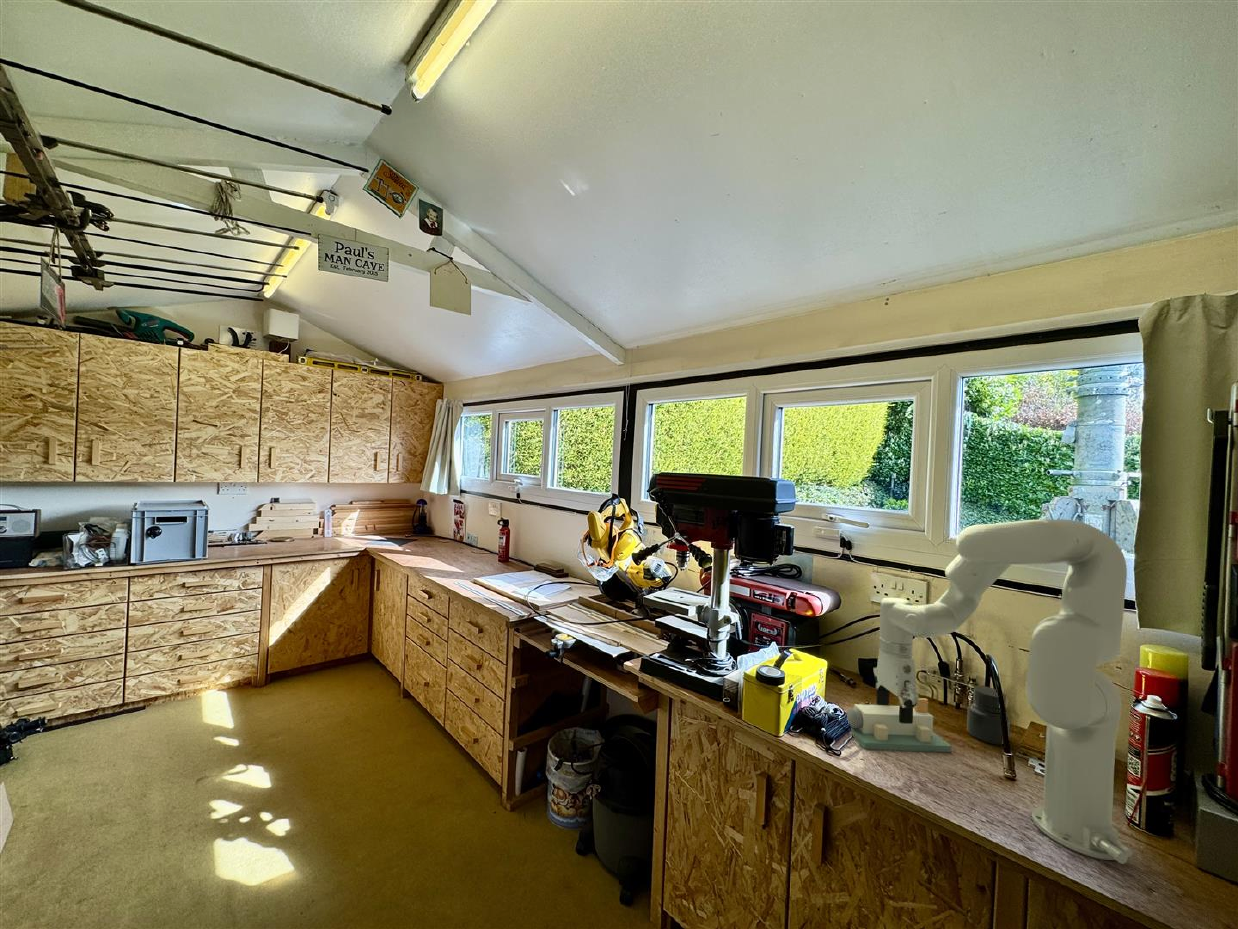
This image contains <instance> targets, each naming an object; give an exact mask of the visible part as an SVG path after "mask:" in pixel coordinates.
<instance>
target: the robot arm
mask: <svg viewBox="0 0 1238 929" xmlns="http://www.w3.org/2000/svg"><path fill="white" fill-rule="evenodd" d="M955 546H956V550H957V552H958V554H957V556H955V558H954V559H953V560H952V561H950V563H949V564H948V565H947V566H946V567H945V570H944V574H945V577H946V579H947V580H948V581H949V586H948V588H947V589H946V590H945V592H944V593H943V594H942V595H941V596H940V597H939V598H938V599H937V600H936V601H935V602H934V603H929V604H928V603H927V604H919V605H913V603H912V602H911V601H910V600H907V599H905V598H900V597H883V598H882V599H881V600H880V605H879V606H880V607H879V608H880V609H879V610H880V612H879V613H880V615H879V639H878V640H879V641H878V642H879V644H878V646H879V647H878V654H877V662H876V664H877V665H876V667H873V674H874V681H875V688H876V699H875V700H876V702H875V703H876V704H875V705H886V706H890V693H892V694H893V695H894V696H896V697H898V700H899V703H900V705H898V706H899V722H900V723H905V724H912V723H913V708H915V706H916V705H917V701H918V699H919V698H920V696H919V694H918V692H917V676H916V674H917V673H916V666H915V659H914V657H913V644H914V643H913V642H914V641H913V639H914V637H915V638H920V639H926V638H933V637H938V636H944V635H949V634H952V633H954V632H955V631H957V630H958V629H959V628H960V627H961V626H963V624H964V623H966V621H967V620H968V619H969V618H970V617H971V616H973V614H974V612H976V610H977V609H978V606H979V604H980V603H981V600H982V596H983V594H984V593H985V592H986V591H987V590H988V589H989V588H990V587H991V586H992V585H993V584H994V583H995V582H996V581H997V580H998V579H999V578H1000V577H1001V576H1002V574H1004V573H1005V572H1006V571H1007V570H1008V569H1009V568H1010V567H1011V566H1012V565H1041V564H1042V565H1043V564H1045V565H1046V564H1048V565H1049V564H1059V563H1060V564H1063V563H1064V564H1066V565H1067V573H1066V576H1065V579H1064V581H1063V584H1062V589H1061V593H1062V594H1061V599H1060V606H1059V607H1060V608H1059V611H1058V614H1055V615H1051V616H1047V617H1045V618H1044V619H1042V620H1040V621H1039V622H1038V623H1037V624H1036V626H1035V628H1034V629H1033V632H1032V634H1031V638H1030V645H1029V652H1028V661H1027V670H1026V678H1025V693H1026V698H1027V702H1028V704H1029V705H1030V707H1031V709H1032V710H1033V712H1034V713H1035V714H1036V715H1037V717H1039V719H1040V720H1042V721H1043V722H1045V723H1047V724H1046V733H1045V734H1046V735H1045V749H1044V750H1045V752H1044V753H1045V754H1044V773H1043V774H1044V778H1043V779H1044V780H1043V799H1042V801H1043V802H1042V804H1043V805H1040V806H1037V807H1035V808H1034V807H1033V810H1032V811H1031V812H1032V814H1031V818H1032V821H1033V823H1034V824H1035V825H1036V827H1037V828H1038V829H1039V830H1040V831H1041V832H1042V833H1043V834H1045V835H1046V836H1047V837H1048V838H1050V839H1052V840H1053V841H1055V842H1056V843H1058V844H1060V845H1062V846H1064V847H1066V848H1068V849H1069V850H1072V851H1074V852H1077V853H1079V854H1082V855H1085V856H1088V857H1091V858H1095V859H1099V860H1105V861H1117V863H1120V864H1126V862H1128V858H1130V857H1131V856H1132V855H1133V851H1132V850H1131V849H1130V848H1129V847H1127V846H1126V845H1124V843H1122V842H1120V840H1119V839H1118V838H1119V830H1118V829H1117V828H1116V827H1114V826H1113V806H1114V805H1113V804H1114V803H1113V801H1114V778H1115V760H1116V744H1117V735H1118V731H1119V725H1120V720H1121V715H1122V699H1121V695H1120V693H1119V690H1118V688H1117V687H1116V686H1115V684H1114V683H1113V681H1111V680H1110V679H1109V677H1107V676H1106V675H1104V674H1103V673H1102V672H1100V671H1097V670H1098V666H1102V665H1105V664H1107V663H1110V662H1111V661H1113V660H1115V659H1116V658H1117V656H1118V655H1119V653H1120V652H1121V651H1120V650H1121V642H1122V629H1123V621H1124V620H1123V619H1124V613H1125V611H1124V610H1125V595H1126V589H1127V588H1126V586H1127V579H1128V578H1127V574H1128V572H1127V571H1128V569H1127V563H1126V557H1125V556H1124V553H1123V551H1122V549H1121V548H1120V546H1119V545H1118V544H1117V543H1116V541H1115V540H1114V539H1113V538H1111V536H1109V535H1108V534H1106V533H1105V532H1104V531H1102V530H1100V529H1099V528H1097V527H1095V526H1092V525H1090V524H1088V523H1085V522H1083V521H1082V522H1081V521H1079V520H1073V519H1064V518H1063V519H1062V518H1061V519H1060V518H1059V519H1058V518H1057V519H1052V518H1051V519H1047V518H1043V519H1040V518H1039V519H1038V518H1037V519H1028V520H1017V521H1006V522H997V523H984V524H983V523H981V524H973V525H972V524H971V525H970V526H967V527H966V528H964V529H963V530H962V531H960V533H958V535H957V537H956V541H955ZM905 698H906V700H905Z"/></svg>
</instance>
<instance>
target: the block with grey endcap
mask: <svg viewBox="0 0 1238 929" xmlns="http://www.w3.org/2000/svg"><path fill="white" fill-rule="evenodd" d="M899 706H900V705H878V704H861V703H860V704H857V703H856V704H855V703H854V705H853V708H848V709H847V712H846V715H847V720H848V723H849V724H850V726H851V727H852V728H859V729H860V730H861V731H862V732H863V733H864V734H874V724H884V725H885V726H886V727H887V728H888V734H891V735H916V725H919V726H927V727H928V728H929V729H930V730H931V736H932V731H933V726H934V716H933V714H931V713H929V712H928V710H929V709H928V708H929V699H927V698H925V697H924V698H922V697H919V699H918V701H917V705H916V706H915V708H913V723H912V724H905V723H900V722H899ZM933 732H934V731H933Z"/></svg>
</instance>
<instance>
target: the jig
mask: <svg viewBox="0 0 1238 929" xmlns="http://www.w3.org/2000/svg"><path fill="white" fill-rule="evenodd" d="M851 730H852V735H853V737H854V738H853V737H852V738H853V739H854V740H855V741H856V742H857V743H858V744H859V746H861V747H862V748H863V750H876V749H877V750H879V751H881V750H882V751H909V752H935V753H936V752H937V753H952V745H951V744H949V743H948V742H947V741H946V740H944V739H943V738H942V737H941V736H939V735H938V734H937V733H936V732H934V731H932V736H931V730H930V729H929V728H928V727H927V726H919V725H916V735H891V734H888V728H887V727H886V726H885V725H884V724H874V734H864V733H863V732H862V731H861V730H860V729H859V728H851Z"/></svg>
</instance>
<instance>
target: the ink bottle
mask: <svg viewBox="0 0 1238 929" xmlns="http://www.w3.org/2000/svg"><path fill="white" fill-rule="evenodd" d="M996 690H997V689H995V688H992V687H989V686H983V685H975V686H973V694H972V695H973V698H972V700H973V703H971V704H969V705H968V706H967V716H966V717H967V719H966V731H967V733H968V734H970V735H971V736H973V737H974V738H976V739H978V740H980V741H981V742H984V743H986V744H992V745H994V746H1003V745H1002V728H1001V719H1000V708H999V697H998V694H997V692H996ZM1001 692H1002V693H1003V697H1004V702H1005V705H1006V702H1007V701H1006V700H1007V695H1006V694H1005V693H1004V692H1003V691H1001ZM1006 721H1007V726H1008V734H1009V738H1010V732H1011V731H1010V729H1011V717H1010V716H1009V714H1007V713H1006Z"/></svg>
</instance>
